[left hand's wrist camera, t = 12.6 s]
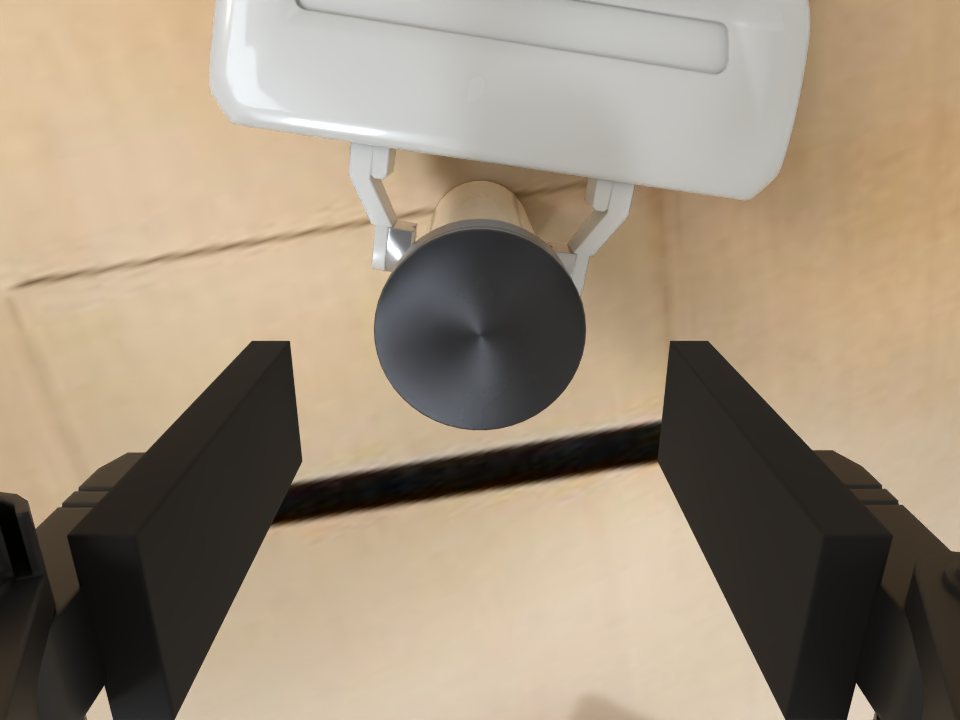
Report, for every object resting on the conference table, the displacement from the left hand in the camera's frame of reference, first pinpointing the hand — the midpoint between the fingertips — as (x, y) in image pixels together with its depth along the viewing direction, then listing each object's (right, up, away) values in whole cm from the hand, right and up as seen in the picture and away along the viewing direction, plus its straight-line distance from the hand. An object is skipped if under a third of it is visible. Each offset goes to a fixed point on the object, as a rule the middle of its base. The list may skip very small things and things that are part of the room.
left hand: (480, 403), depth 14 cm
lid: (0, +2, +4) cm, 5 cm away
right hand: (0, +4, +13) cm, 14 cm away
